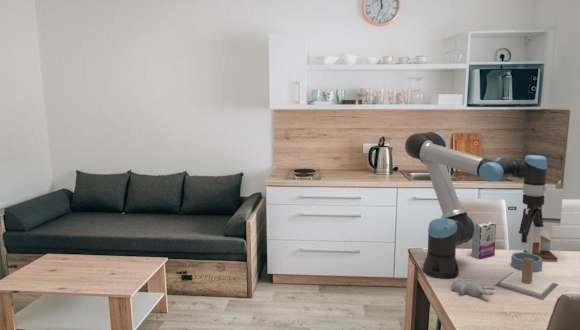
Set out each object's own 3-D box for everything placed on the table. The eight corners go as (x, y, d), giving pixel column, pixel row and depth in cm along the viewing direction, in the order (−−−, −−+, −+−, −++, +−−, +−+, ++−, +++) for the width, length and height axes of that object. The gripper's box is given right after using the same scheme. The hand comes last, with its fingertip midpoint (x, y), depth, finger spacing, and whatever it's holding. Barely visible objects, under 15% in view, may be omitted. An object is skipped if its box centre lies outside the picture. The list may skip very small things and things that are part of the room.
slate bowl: (522, 274, 189) (523, 262, 188) (505, 264, 200) (506, 253, 200) (547, 273, 190) (548, 261, 189) (529, 263, 202) (530, 251, 201)
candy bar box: (486, 252, 216) (488, 220, 214) (494, 255, 212) (497, 223, 210) (470, 256, 211) (472, 223, 209) (479, 259, 207) (481, 226, 204)
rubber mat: (542, 301, 163) (542, 300, 163) (493, 287, 176) (494, 285, 176) (558, 286, 177) (558, 284, 177) (512, 273, 190) (512, 272, 190)
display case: (530, 260, 205) (536, 188, 200) (523, 252, 215) (528, 184, 210) (556, 262, 203) (563, 189, 197) (548, 254, 213) (554, 185, 208)
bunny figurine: (455, 275, 179) (494, 280, 169) (456, 287, 179) (495, 293, 170) (448, 283, 171) (489, 288, 162) (449, 296, 171) (490, 302, 162)
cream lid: (540, 296, 166) (542, 269, 164) (500, 284, 177) (502, 258, 175) (552, 285, 176) (555, 258, 174) (513, 274, 187) (515, 249, 185)
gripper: (533, 201, 159) (529, 255, 162) (554, 191, 176) (550, 240, 179) (511, 198, 165) (508, 251, 168) (534, 188, 182) (530, 237, 185)
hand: (530, 245), depth 174 cm, fingers open, 13 cm apart
